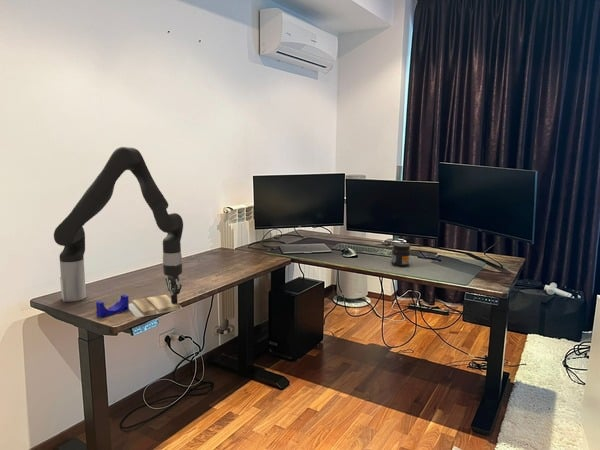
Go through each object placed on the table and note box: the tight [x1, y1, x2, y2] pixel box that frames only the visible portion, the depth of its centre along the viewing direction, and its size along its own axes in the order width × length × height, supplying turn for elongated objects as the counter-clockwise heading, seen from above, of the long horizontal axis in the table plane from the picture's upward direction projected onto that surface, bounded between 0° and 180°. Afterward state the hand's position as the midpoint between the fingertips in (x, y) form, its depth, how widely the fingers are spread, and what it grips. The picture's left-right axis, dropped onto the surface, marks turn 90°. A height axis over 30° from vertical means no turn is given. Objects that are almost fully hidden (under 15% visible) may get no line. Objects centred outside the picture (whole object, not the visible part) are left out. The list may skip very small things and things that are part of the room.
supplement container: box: [391, 242, 412, 268], centre depth 267 cm, size 10×10×12 cm
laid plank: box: [131, 297, 157, 315], centre depth 191 cm, size 5×16×2 cm, turn 35°
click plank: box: [145, 294, 181, 313], centre depth 195 cm, size 9×16×2 cm, turn 35°
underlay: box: [128, 302, 184, 319], centre depth 193 cm, size 19×17×1 cm
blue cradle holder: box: [95, 294, 130, 319], centre depth 186 cm, size 12×4×6 cm, turn 141°
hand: (174, 302), depth 193 cm, fingers closed
